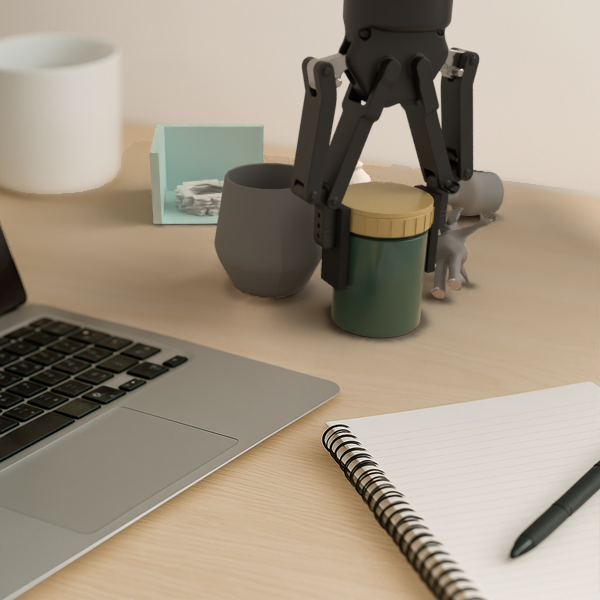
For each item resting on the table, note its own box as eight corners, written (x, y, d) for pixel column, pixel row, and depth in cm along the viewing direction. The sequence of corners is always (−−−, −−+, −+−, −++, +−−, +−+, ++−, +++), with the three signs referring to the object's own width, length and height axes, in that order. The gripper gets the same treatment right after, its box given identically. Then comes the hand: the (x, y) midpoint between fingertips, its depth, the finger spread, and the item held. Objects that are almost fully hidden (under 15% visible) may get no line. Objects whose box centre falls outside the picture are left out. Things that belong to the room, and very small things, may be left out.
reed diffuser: (522, 163, 86) (358, 165, 77) (526, 229, 86) (363, 239, 77) (460, 176, 95) (307, 180, 86) (464, 236, 96) (312, 246, 86)
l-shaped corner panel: (153, 224, 86) (149, 153, 82) (159, 188, 96) (156, 124, 93) (269, 222, 87) (269, 152, 84) (262, 187, 98) (263, 124, 94)
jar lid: (312, 217, 64) (312, 194, 63) (379, 198, 69) (380, 175, 68) (385, 246, 59) (387, 221, 58) (452, 223, 64) (455, 199, 63)
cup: (209, 267, 76) (207, 161, 71) (309, 261, 78) (312, 157, 73) (223, 313, 67) (221, 196, 63) (334, 305, 69) (340, 191, 65)
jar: (410, 297, 71) (420, 190, 67) (428, 337, 65) (440, 221, 60) (326, 298, 70) (331, 190, 66) (336, 338, 64) (342, 221, 60)
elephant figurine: (378, 295, 72) (387, 227, 78) (421, 334, 74) (427, 265, 80) (475, 244, 66) (476, 175, 72) (517, 288, 68) (515, 218, 75)
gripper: (483, -39, 63) (452, 239, 73) (239, -37, 55) (241, 279, 64) (553, -32, 57) (509, 270, 67) (291, -28, 49) (285, 318, 58)
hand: (378, 274), depth 66 cm, fingers closed on jar lid, 7 cm apart
